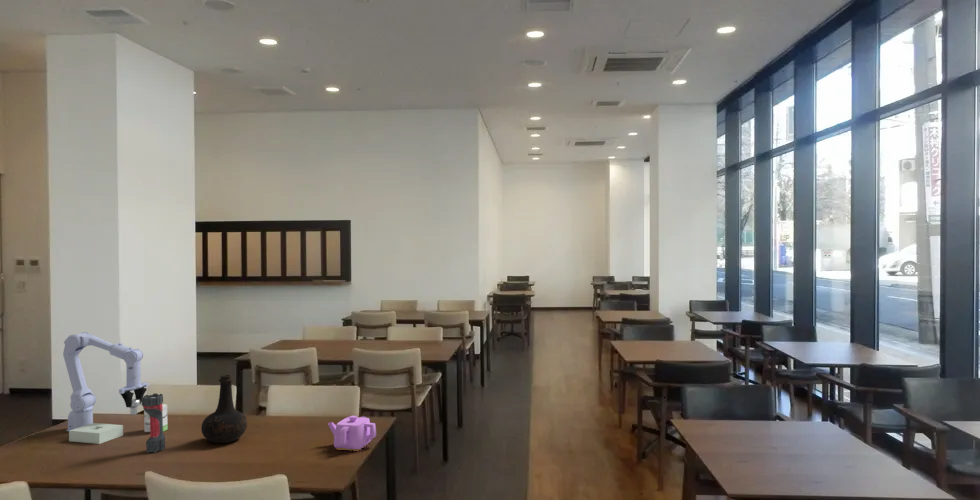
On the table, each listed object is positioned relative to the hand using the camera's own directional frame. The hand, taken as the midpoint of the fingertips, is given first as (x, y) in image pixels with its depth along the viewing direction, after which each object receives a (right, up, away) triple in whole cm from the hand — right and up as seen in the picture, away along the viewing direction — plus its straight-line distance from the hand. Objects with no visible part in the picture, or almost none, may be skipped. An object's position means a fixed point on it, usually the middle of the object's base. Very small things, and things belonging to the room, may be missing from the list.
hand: (133, 405), depth 275 cm
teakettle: (+107, -10, -25) cm, 110 cm away
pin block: (-8, -10, -15) cm, 19 cm away
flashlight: (+27, -10, -32) cm, 43 cm away
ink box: (+12, -11, -4) cm, 17 cm away
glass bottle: (+50, -10, -18) cm, 54 cm away
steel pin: (0, -4, 0) cm, 4 cm away
